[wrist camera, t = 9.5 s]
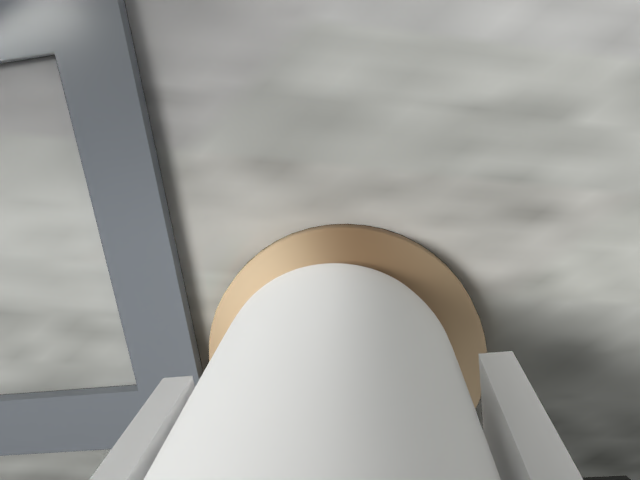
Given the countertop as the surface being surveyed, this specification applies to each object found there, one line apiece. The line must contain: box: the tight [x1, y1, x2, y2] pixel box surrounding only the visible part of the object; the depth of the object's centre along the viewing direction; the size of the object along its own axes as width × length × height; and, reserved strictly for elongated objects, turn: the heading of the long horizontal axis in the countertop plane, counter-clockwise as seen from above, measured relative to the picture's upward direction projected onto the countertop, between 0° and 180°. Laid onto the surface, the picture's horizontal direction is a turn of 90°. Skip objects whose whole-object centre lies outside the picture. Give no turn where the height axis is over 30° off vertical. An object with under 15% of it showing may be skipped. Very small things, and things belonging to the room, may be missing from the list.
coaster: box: [209, 224, 487, 409], centre depth 16 cm, size 8×8×1 cm
